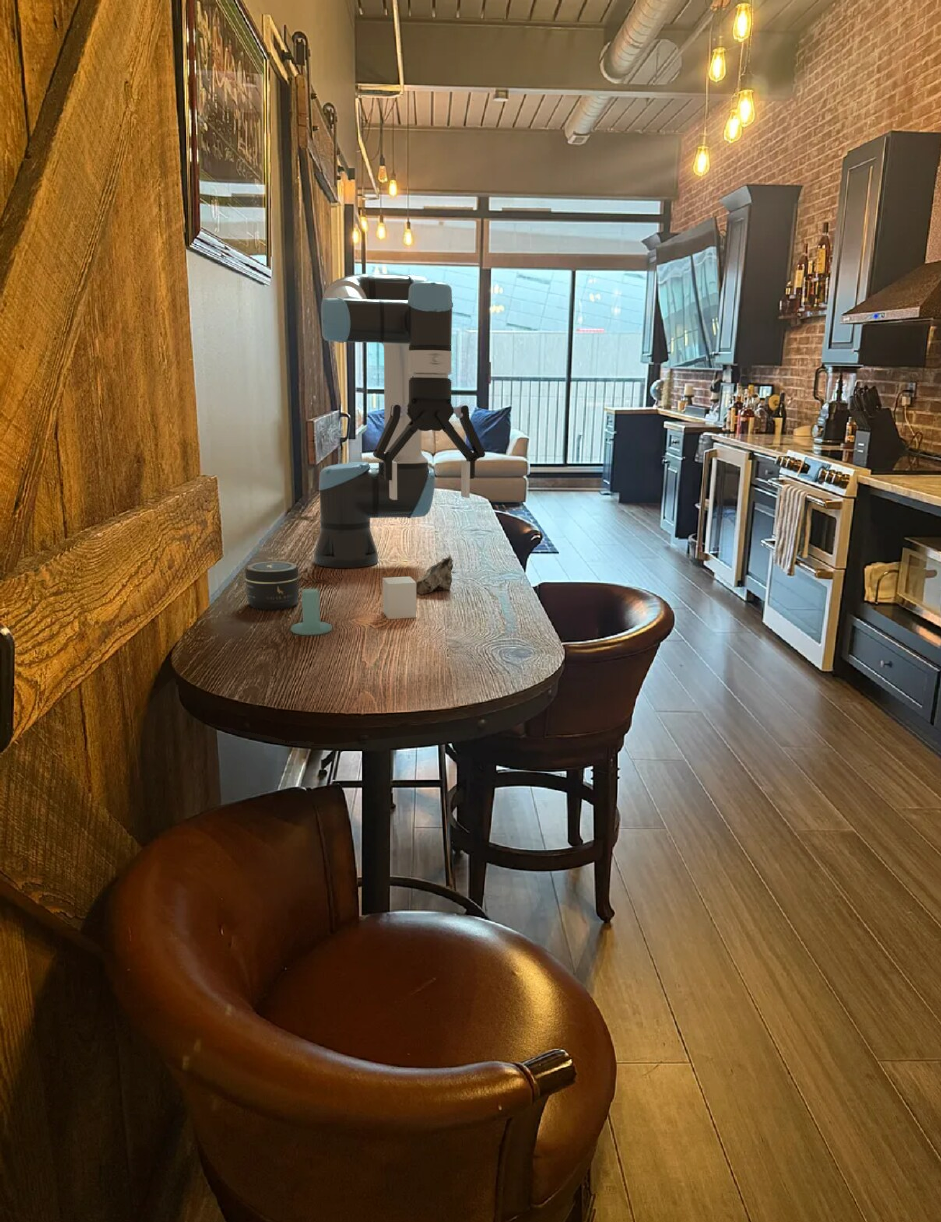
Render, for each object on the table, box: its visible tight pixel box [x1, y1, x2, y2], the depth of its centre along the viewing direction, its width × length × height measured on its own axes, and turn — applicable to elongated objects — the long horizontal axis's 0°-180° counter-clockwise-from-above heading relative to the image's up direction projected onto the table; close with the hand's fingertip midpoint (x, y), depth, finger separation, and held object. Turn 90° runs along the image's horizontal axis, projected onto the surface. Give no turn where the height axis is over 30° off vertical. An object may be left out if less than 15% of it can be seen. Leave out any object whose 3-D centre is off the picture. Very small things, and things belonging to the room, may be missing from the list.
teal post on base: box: [290, 588, 333, 636], centre depth 148 cm, size 7×7×7 cm
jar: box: [244, 560, 300, 611], centre depth 164 cm, size 10×10×8 cm
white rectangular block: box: [382, 576, 417, 620], centre depth 159 cm, size 5×5×7 cm
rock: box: [415, 554, 454, 595], centre depth 177 cm, size 9×7×10 cm
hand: (429, 498), depth 155 cm, fingers open, 13 cm apart
